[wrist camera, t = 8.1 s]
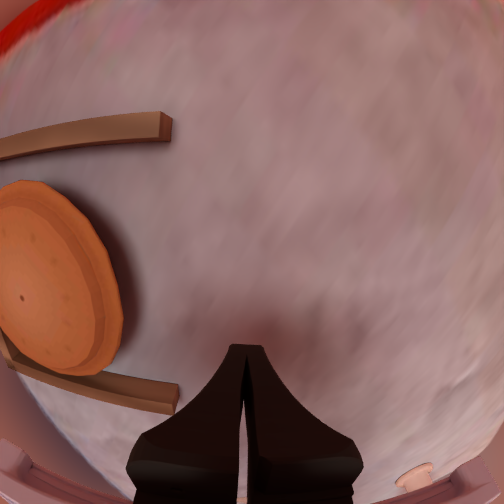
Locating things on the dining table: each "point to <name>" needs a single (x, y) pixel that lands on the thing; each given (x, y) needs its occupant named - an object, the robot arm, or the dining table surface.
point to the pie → (56, 282)
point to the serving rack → (81, 135)
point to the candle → (416, 478)
